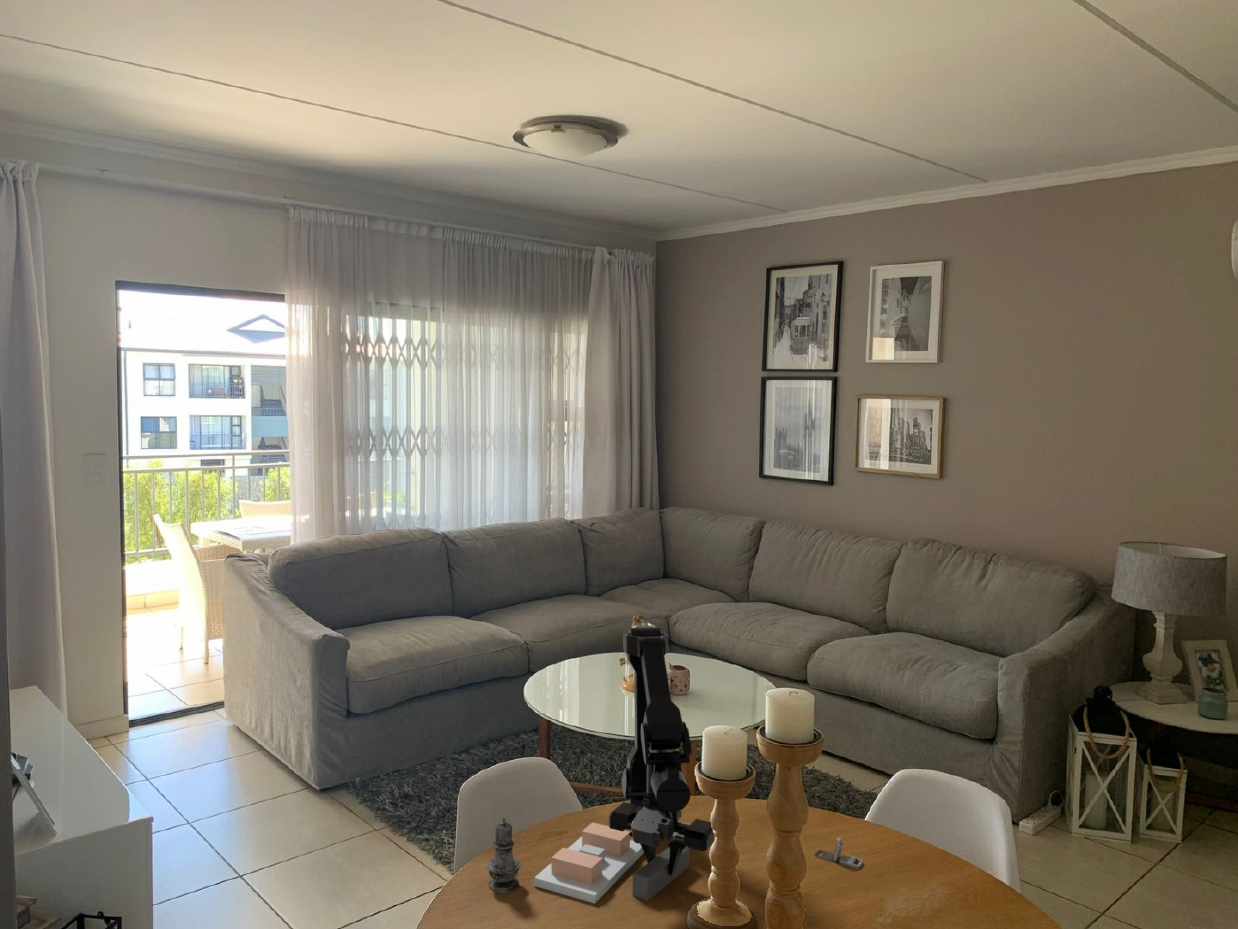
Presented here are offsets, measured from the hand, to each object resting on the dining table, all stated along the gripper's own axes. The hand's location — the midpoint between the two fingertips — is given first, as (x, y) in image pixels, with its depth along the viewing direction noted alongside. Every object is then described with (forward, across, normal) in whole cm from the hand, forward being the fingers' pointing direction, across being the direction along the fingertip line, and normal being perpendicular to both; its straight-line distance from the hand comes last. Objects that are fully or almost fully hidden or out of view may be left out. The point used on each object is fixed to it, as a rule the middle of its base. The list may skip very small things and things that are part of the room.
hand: (661, 872), depth 161 cm
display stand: (+2, -13, -2) cm, 13 cm away
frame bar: (+2, 0, 0) cm, 2 cm away
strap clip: (+2, +26, +22) cm, 34 cm away
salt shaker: (+2, -24, -14) cm, 28 cm away
